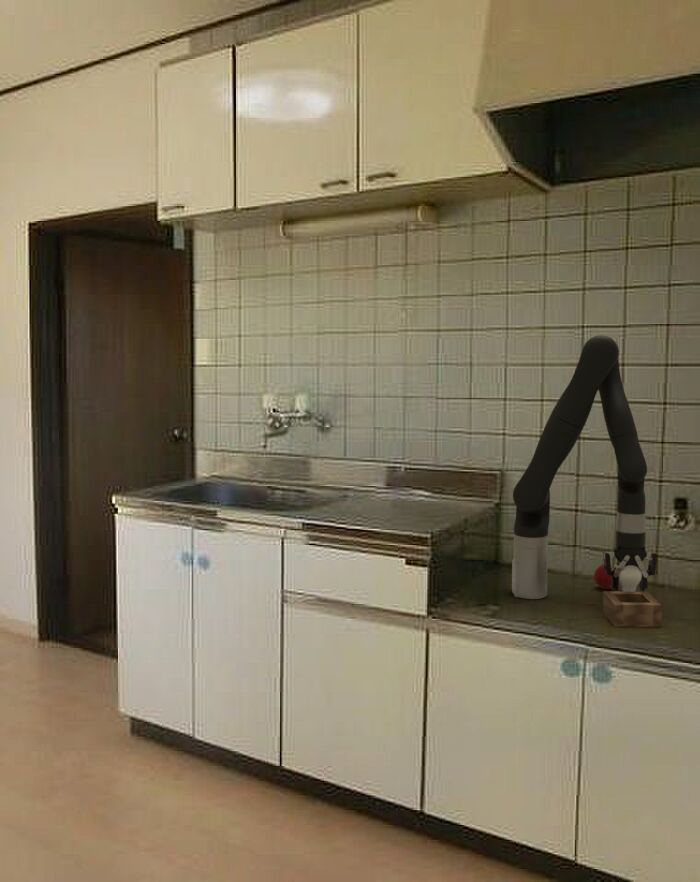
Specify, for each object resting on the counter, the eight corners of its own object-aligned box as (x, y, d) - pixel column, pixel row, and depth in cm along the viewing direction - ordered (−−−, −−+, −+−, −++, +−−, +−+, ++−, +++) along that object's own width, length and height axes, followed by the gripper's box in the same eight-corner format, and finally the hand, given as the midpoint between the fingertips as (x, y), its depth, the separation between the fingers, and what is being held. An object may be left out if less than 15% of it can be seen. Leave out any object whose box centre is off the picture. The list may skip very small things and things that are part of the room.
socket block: (614, 626, 193) (615, 604, 193) (602, 611, 204) (603, 591, 204) (661, 627, 193) (661, 605, 192) (646, 612, 204) (647, 591, 203)
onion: (611, 593, 220) (611, 565, 219) (590, 590, 224) (591, 562, 223) (618, 588, 225) (618, 561, 224) (598, 585, 228) (598, 558, 228)
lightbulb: (641, 608, 207) (642, 567, 206) (615, 605, 209) (616, 565, 208) (641, 601, 213) (642, 561, 212) (616, 599, 215) (617, 559, 214)
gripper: (606, 532, 206) (605, 594, 208) (663, 532, 205) (661, 594, 207) (599, 526, 213) (598, 586, 215) (653, 526, 212) (652, 586, 214)
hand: (629, 590), depth 211 cm, fingers closed on lightbulb, 6 cm apart
